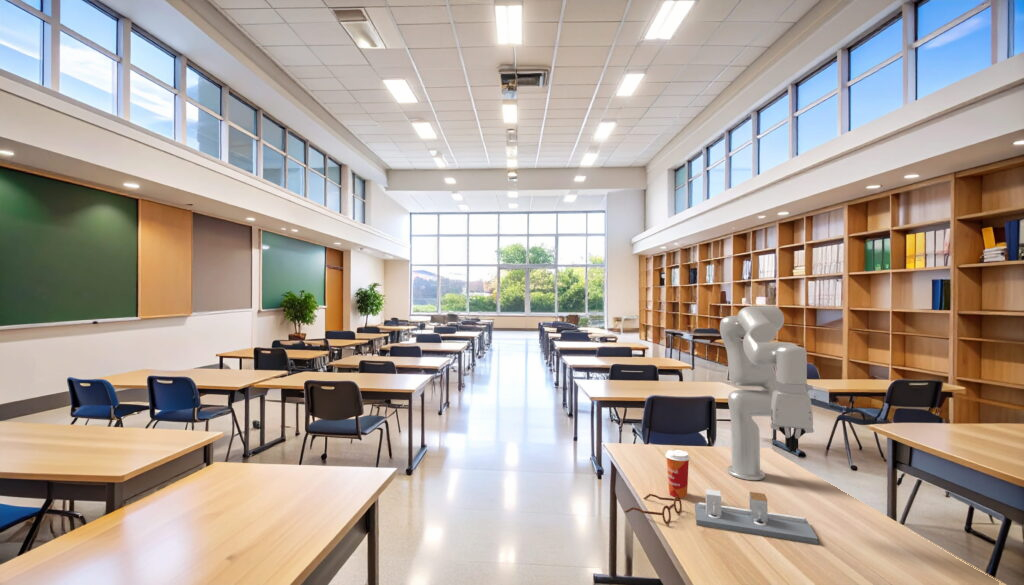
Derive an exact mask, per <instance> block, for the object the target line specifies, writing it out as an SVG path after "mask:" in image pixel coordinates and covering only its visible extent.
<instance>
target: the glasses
mask: <svg viewBox="0 0 1024 585" xmlns="http://www.w3.org/2000/svg"><path fill="white" fill-rule="evenodd" d="M650 497H654V498H657V499H659V500H661V501H671V502H672V501H673V503H671V504H670V505H669V506H668V505H664V506H663V507H662V512H658V511H648V510H642V509H640V508H638V507H634V506H632V507H631V508H629V509H627V510H625V511H624V512H625V513H627V514H628V513H629V512H631V511H633V510H635V511H637V512H638V511H639V512H640V513H642V514H646V515H647V514H648V515H656V516H661V517H662V520H663V523H665V524H666V525H667V524H670V522H671V520H672V518H671V517H672V516H671V514H672V513H671V509H672V508H674V511H675V513H676V514H678V515H679V514H680V513H681V512H682V510H683V509H682V508H683V506H682V501H681V498H679V497H660V496H659V495H657V494H653V493H648V494H647V495H645V497H643V498H642V499H643V500H647V499H648V498H650ZM676 502H679V510H678V509H677V505H676ZM666 509H667V512H668V518H667V519H668V520H666V517H665V510H666Z"/></svg>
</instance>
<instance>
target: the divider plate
mask: <svg viewBox="0 0 1024 585" xmlns="http://www.w3.org/2000/svg"><path fill="white" fill-rule="evenodd" d="M694 509H695V510H694V511H695V512H694V514H695V522H696V523H695V524H696V526H700V527H709V528H711V529H713V528H714V529H719V530H727V531H731V530H732V532H739V533H744V534H745V533H746V534H750V533H751V534H752V535H756V536H757V535H758V536H764V537H769V538H774V539H775V538H776V539H783V540H788V541H793V542H799V543H800V542H801V543H807V544H813V545H818V544H819V539H818V537H817V535H816V533H815V531H814V530H813V528H812V526H811V524H810V523H809V521H808V520H807V518H804V517H803V516H797V515H790V514H781V513H777V512H776V513H775V512H770V511H769V512H768V523H766V522H759V521H753V520H752V519H751V516H750V508H749V509H747V508H739V507H735V506H734V507H733V506H726V505H722V495H721V490H716V489H715V490H714V489H709V488H708V489H707V488H705V502H694Z"/></svg>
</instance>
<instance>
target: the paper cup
mask: <svg viewBox="0 0 1024 585" xmlns="http://www.w3.org/2000/svg"><path fill="white" fill-rule="evenodd" d="M665 457H666V466H667V468H666V469H667V479H668V480H667V482H668V483H667V484H668V493H669V495H670V496H671V497H672V498H675V497H679V498H680V499H685V498H687V497H688V485H689V465H690V464H689V462H690V459H691V458H690V456H689V453H688V452H687V451H685V450H684V451H683V450H680V449H672V450H671V449H669V450H667V451H666V454H665Z"/></svg>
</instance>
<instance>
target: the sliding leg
mask: <svg viewBox="0 0 1024 585" xmlns="http://www.w3.org/2000/svg"><path fill="white" fill-rule="evenodd" d="M749 510H750V516H751V519H752V520H753V521H759V522H766V523H768V497H767V496H766V494H765V493H762V492H761V493H760V492H752V491H749Z"/></svg>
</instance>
